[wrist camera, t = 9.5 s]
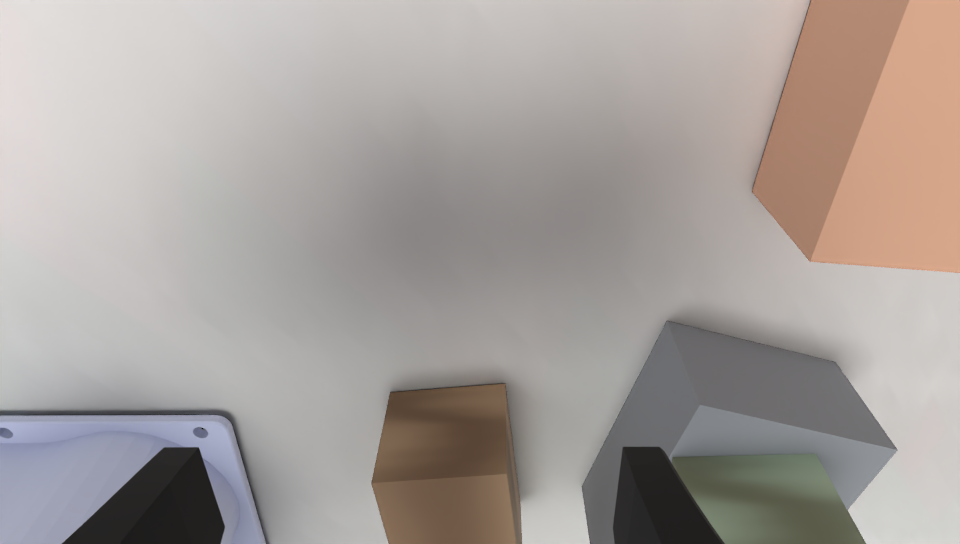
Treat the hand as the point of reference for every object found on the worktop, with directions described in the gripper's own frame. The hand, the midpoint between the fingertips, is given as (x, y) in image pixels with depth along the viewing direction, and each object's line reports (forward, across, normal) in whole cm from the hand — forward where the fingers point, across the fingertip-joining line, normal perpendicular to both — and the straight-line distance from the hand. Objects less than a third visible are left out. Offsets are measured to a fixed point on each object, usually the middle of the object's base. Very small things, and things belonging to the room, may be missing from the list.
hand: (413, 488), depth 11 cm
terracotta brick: (+10, -11, -4) cm, 15 cm away
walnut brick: (+10, 0, +9) cm, 13 cm away
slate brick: (+10, -9, +8) cm, 15 cm away
